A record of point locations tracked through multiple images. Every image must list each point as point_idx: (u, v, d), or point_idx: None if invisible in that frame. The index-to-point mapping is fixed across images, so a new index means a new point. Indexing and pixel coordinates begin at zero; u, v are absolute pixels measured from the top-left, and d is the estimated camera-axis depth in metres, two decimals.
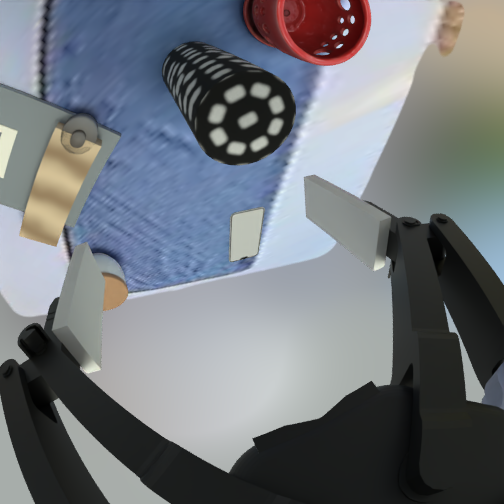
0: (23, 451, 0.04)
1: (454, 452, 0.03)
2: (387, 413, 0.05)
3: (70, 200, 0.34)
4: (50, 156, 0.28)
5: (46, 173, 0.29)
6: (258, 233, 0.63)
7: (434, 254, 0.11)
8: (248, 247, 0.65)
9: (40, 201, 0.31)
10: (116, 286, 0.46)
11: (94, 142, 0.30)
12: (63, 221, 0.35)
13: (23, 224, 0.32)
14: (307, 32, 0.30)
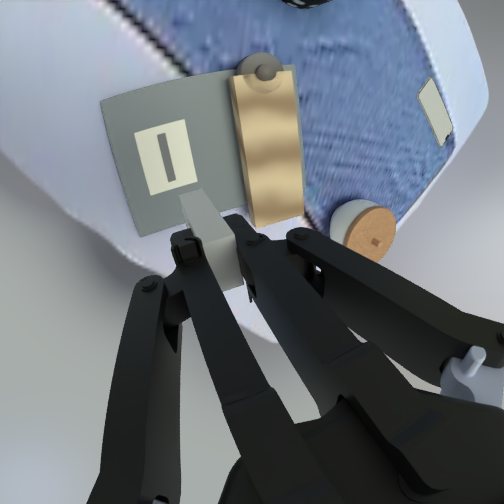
0: (125, 369, 0.07)
1: (454, 452, 0.03)
2: None
3: (295, 146, 0.33)
4: (247, 108, 0.28)
5: (253, 131, 0.30)
6: (442, 104, 0.43)
7: None
8: (444, 123, 0.45)
9: (263, 167, 0.33)
10: (384, 217, 0.40)
11: (282, 70, 0.27)
12: (299, 176, 0.35)
13: (255, 210, 0.35)
14: None
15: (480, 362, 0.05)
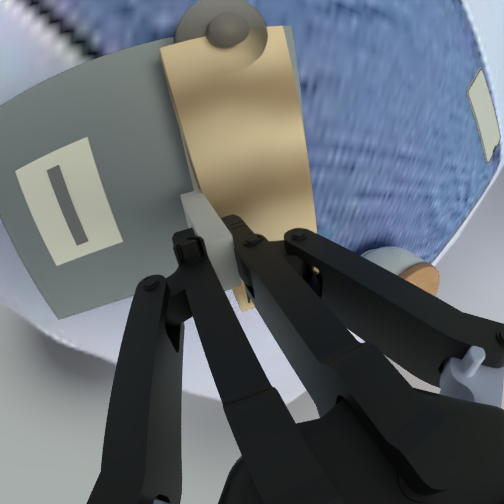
0: (127, 368, 0.07)
1: (454, 452, 0.03)
2: None
3: (301, 170, 0.18)
4: (196, 108, 0.14)
5: (214, 151, 0.15)
6: (492, 106, 0.27)
7: None
8: (493, 132, 0.29)
9: (243, 217, 0.18)
10: (427, 279, 0.24)
11: (264, 25, 0.12)
12: (311, 222, 0.20)
13: (237, 287, 0.21)
14: None
15: (479, 362, 0.05)
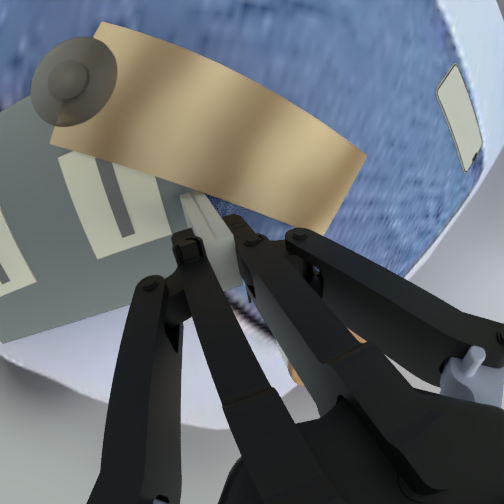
0: (126, 369, 0.07)
1: (454, 452, 0.03)
2: None
3: (253, 92, 0.14)
4: (119, 145, 0.13)
5: (168, 154, 0.14)
6: (471, 108, 0.25)
7: None
8: (472, 137, 0.28)
9: (246, 173, 0.16)
10: None
11: (89, 39, 0.09)
12: (310, 120, 0.16)
13: (298, 223, 0.19)
14: None
15: (480, 362, 0.05)
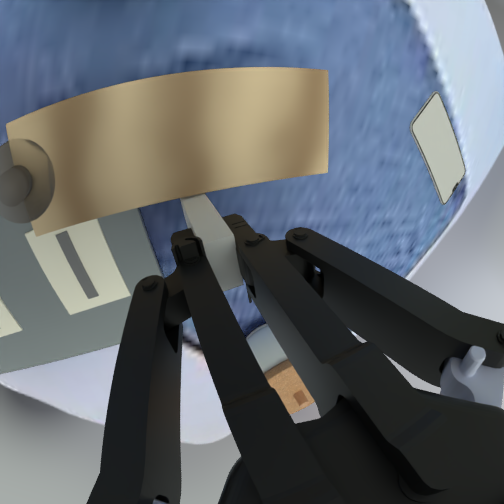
0: (126, 369, 0.07)
1: (454, 452, 0.03)
2: None
3: (169, 84, 0.12)
4: (87, 203, 0.14)
5: (130, 185, 0.14)
6: (453, 137, 0.27)
7: None
8: (453, 167, 0.30)
9: (211, 158, 0.15)
10: None
11: (7, 144, 0.10)
12: (244, 73, 0.13)
13: (294, 173, 0.17)
14: None
15: (480, 362, 0.05)
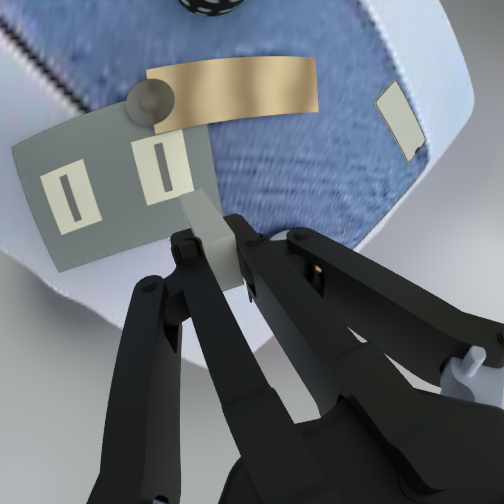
0: (125, 369, 0.07)
1: (454, 452, 0.03)
2: None
3: (237, 62, 0.25)
4: (192, 117, 0.26)
5: (216, 109, 0.27)
6: (411, 112, 0.40)
7: None
8: (413, 134, 0.43)
9: (257, 99, 0.28)
10: None
11: (146, 80, 0.23)
12: (272, 59, 0.26)
13: (300, 110, 0.30)
14: None
15: (480, 362, 0.05)
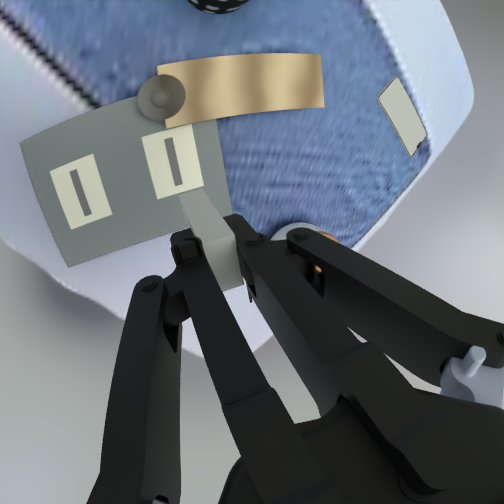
0: (125, 369, 0.07)
1: (454, 452, 0.03)
2: None
3: (246, 59, 0.25)
4: (202, 111, 0.27)
5: (226, 104, 0.27)
6: (412, 108, 0.41)
7: None
8: (415, 129, 0.43)
9: (266, 94, 0.28)
10: None
11: (157, 76, 0.23)
12: (280, 55, 0.26)
13: (306, 105, 0.30)
14: None
15: (480, 362, 0.05)
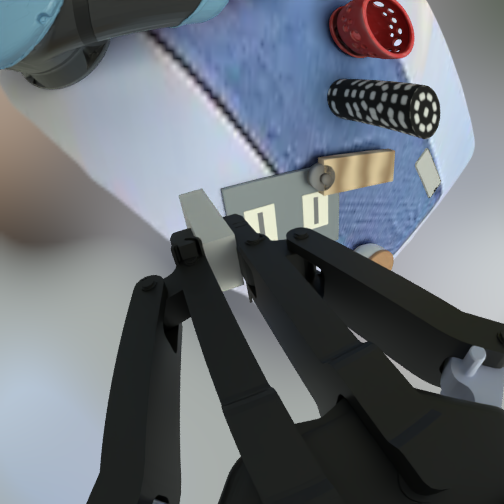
0: (125, 369, 0.07)
1: (454, 452, 0.03)
2: None
3: (363, 157, 0.50)
4: (341, 187, 0.52)
5: (351, 183, 0.52)
6: (434, 166, 0.66)
7: None
8: (434, 180, 0.68)
9: (368, 177, 0.53)
10: (386, 256, 0.62)
11: (323, 166, 0.48)
12: (377, 154, 0.51)
13: (385, 181, 0.55)
14: (374, 33, 0.39)
15: (480, 362, 0.05)
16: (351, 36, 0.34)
